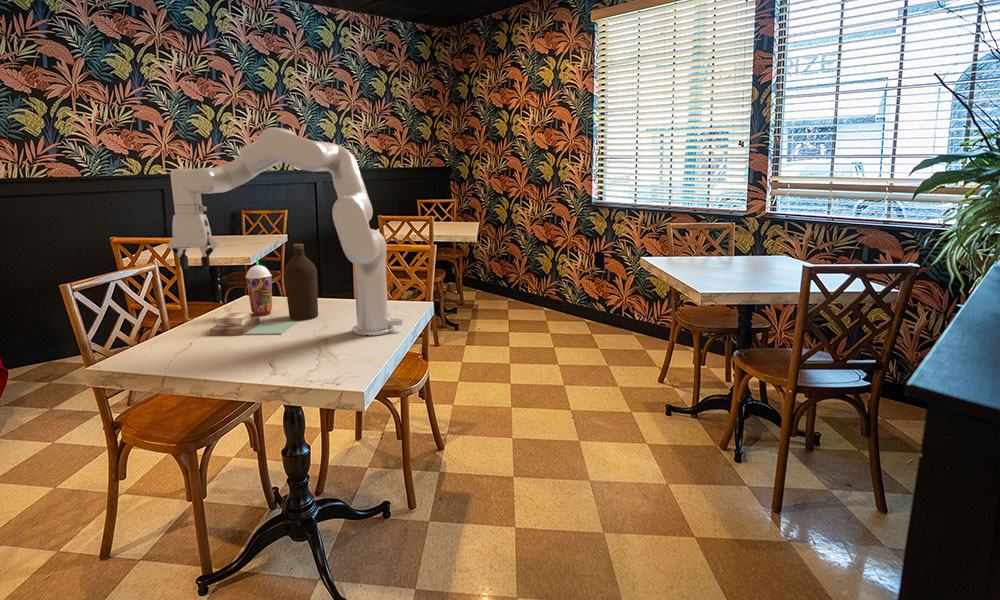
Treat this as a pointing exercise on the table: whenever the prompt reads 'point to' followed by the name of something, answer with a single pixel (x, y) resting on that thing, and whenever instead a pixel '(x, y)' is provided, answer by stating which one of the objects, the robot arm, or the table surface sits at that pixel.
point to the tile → (233, 319)
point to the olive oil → (301, 286)
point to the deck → (235, 328)
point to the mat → (270, 328)
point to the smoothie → (259, 289)
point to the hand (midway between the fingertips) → (195, 268)
